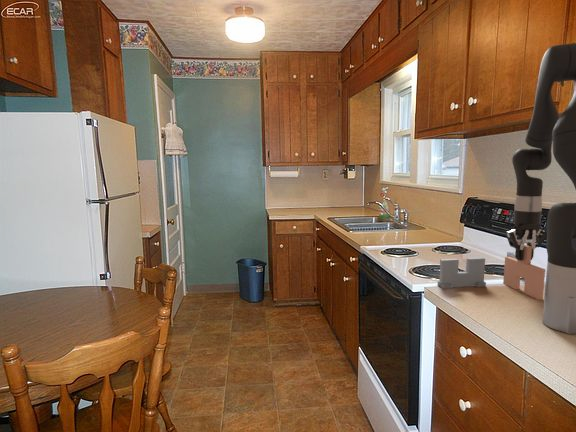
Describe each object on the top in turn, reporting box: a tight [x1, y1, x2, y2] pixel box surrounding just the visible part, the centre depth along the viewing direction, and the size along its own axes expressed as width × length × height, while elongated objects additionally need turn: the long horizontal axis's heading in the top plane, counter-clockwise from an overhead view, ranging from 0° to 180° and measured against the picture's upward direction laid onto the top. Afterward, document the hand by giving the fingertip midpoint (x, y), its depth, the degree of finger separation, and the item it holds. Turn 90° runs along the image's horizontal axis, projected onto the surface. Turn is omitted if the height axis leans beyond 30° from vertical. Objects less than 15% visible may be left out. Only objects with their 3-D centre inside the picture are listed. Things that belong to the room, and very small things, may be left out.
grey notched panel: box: [437, 257, 487, 290], centre depth 127 cm, size 16×4×10 cm, turn 96°
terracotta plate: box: [502, 244, 546, 301], centre depth 120 cm, size 16×2×16 cm, turn 6°
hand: (524, 259), depth 120 cm, fingers open, 3 cm apart
